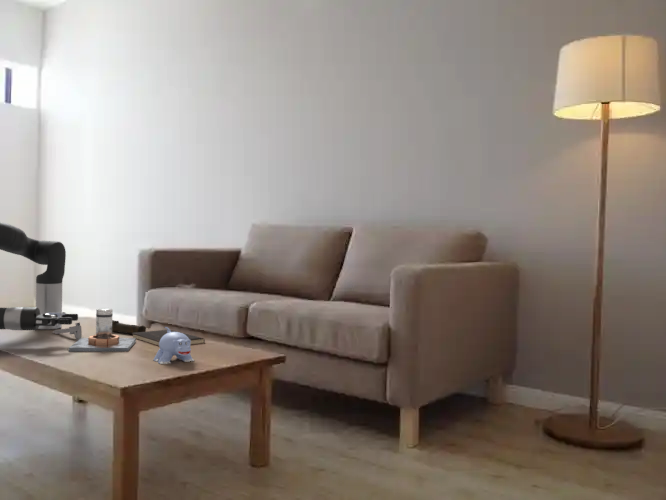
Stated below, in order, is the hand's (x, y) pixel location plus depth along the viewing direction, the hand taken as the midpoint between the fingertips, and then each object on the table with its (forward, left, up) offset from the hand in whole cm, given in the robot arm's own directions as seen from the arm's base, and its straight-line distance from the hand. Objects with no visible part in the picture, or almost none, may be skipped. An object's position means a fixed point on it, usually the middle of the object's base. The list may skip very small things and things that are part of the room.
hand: (74, 319), depth 212 cm
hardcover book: (-12, +29, -10) cm, 33 cm away
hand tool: (-27, +11, -9) cm, 30 cm away
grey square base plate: (0, +9, -9) cm, 13 cm away
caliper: (-19, -7, -9) cm, 22 cm away
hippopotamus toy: (+25, +34, -9) cm, 43 cm away
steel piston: (0, +9, -8) cm, 12 cm away
